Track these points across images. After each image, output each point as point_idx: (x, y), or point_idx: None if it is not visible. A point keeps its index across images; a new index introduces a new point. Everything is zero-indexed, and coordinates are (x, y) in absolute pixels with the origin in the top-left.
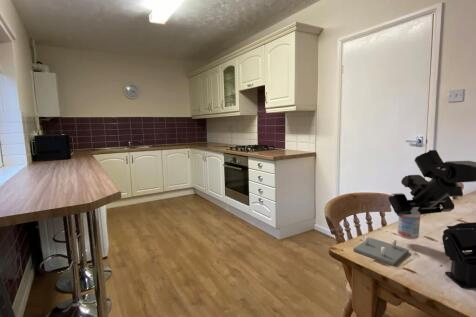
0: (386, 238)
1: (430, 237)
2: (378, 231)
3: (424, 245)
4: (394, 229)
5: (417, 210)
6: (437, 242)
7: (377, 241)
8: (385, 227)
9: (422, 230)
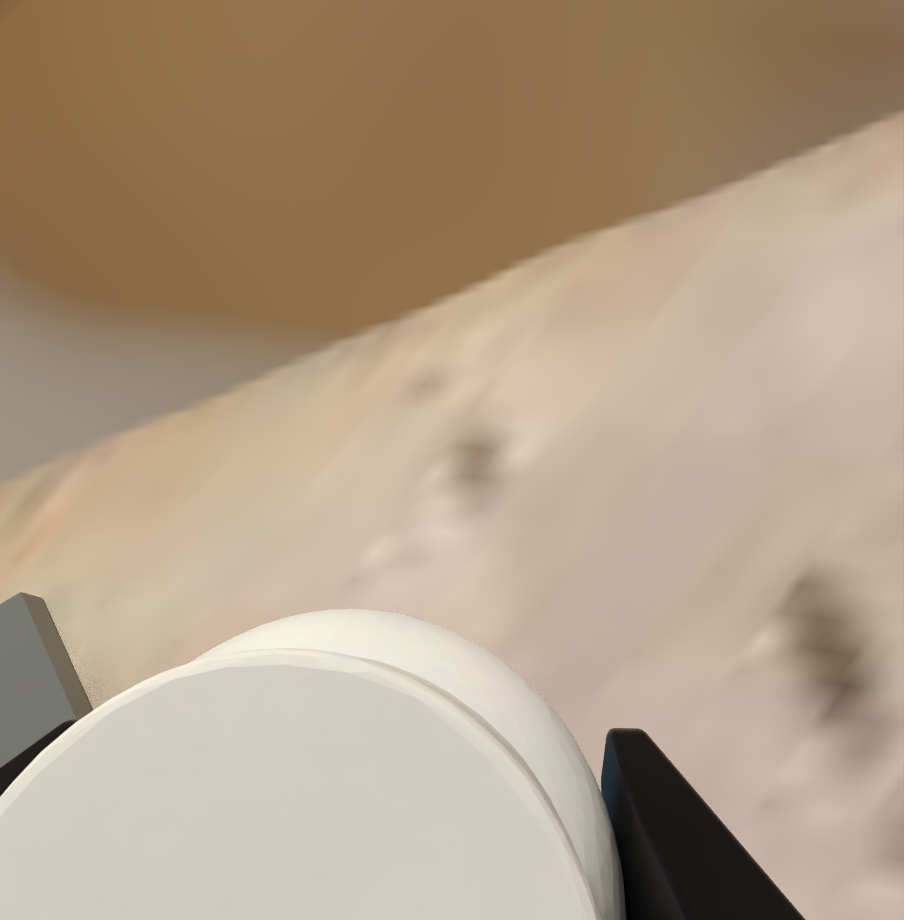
0: (278, 575)
1: (860, 632)
2: (328, 378)
3: None
4: (559, 352)
5: (643, 880)
6: (856, 793)
7: (13, 720)
8: (490, 288)
9: (890, 425)
